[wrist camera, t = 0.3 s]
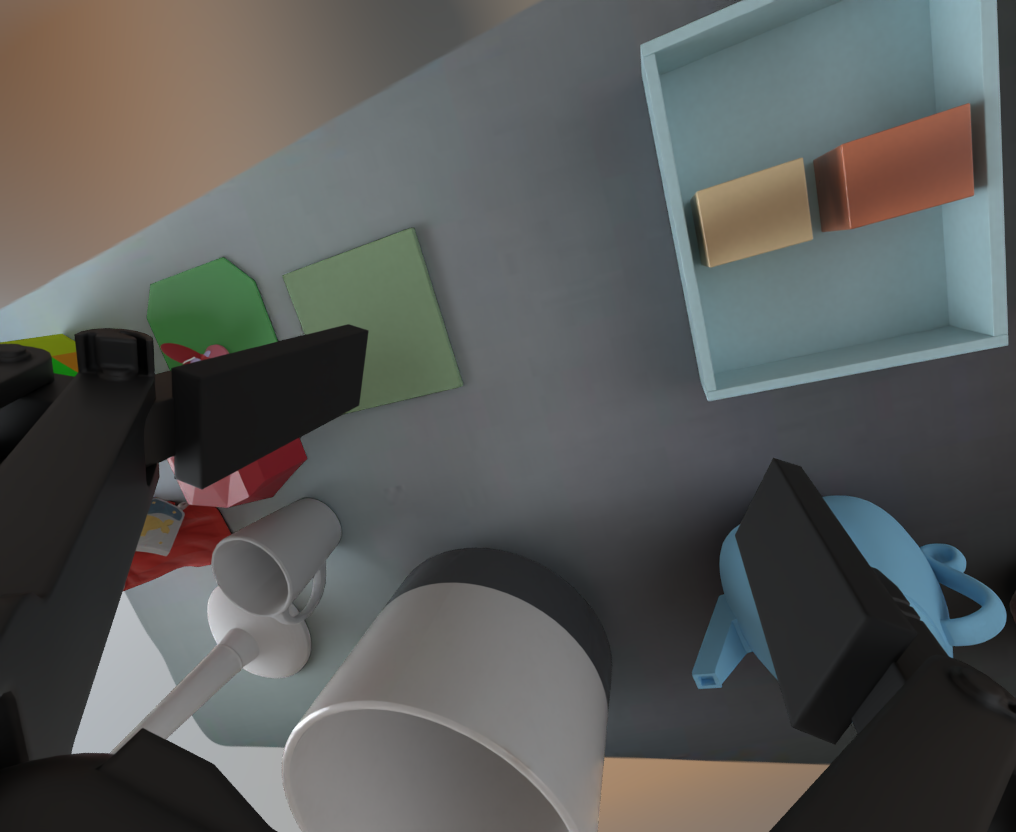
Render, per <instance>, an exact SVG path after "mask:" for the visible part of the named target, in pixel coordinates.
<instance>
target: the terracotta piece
mask: <svg viewBox="0 0 1016 832" xmlns="http://www.w3.org/2000/svg"><path fill="white" fill-rule="evenodd" d="M813 164H814V172H815V181H816V189H817V197H818V205H819V214H820V222H821V230H822V232H830V231H840V230H850V229H855V228H858V227H862V226H866V225H869V224H873V223H877V222H880V221H884V220H888V219H891V218H895V217H899V216H902V215H906V214H910V213H913V212H917V211H921V210H924V209H928V208H932V207H935V206H939V205H943V204H946V203H950V202H953V201H957V200H961V199H964V198H968V197H972V196H974V174H973V153H972V132H971V110H970V103H967V104H964V105H961V106H958V107H954V108H951V109H948V110H945V111H942V112H939V113H936V114H933V115H930V116H927V117H924V118H921V119H918V120H915V121H911V122H908V123H905V124H902V125H899V126H896V127H893V128H890V129H887V130H884V131H881V132H878V133H875V134H871V135H868V136H865V137H862V138H859V139H856V140H853V141H850V142H847V143H844V144H842V145H840V146H838V147H836V148H834V149H832V150H831V151H829V152H827V153H825V154H823V155H822V156H820V157H818V158H816V159H814V160H813Z"/></svg>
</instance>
